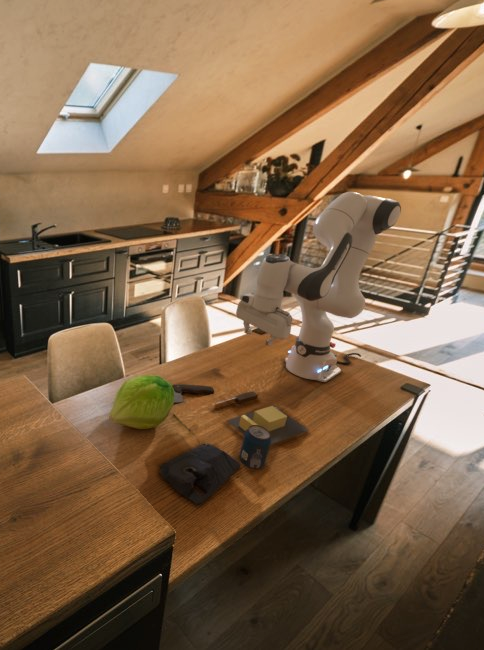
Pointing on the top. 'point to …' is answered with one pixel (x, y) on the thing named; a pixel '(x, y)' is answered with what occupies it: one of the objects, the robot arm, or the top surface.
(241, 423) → the butter slice
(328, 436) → the top surface
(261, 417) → the butter board
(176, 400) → the cleaver
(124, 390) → the lettuce
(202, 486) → the folded black cloth
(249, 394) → the knife
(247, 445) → the soda can
